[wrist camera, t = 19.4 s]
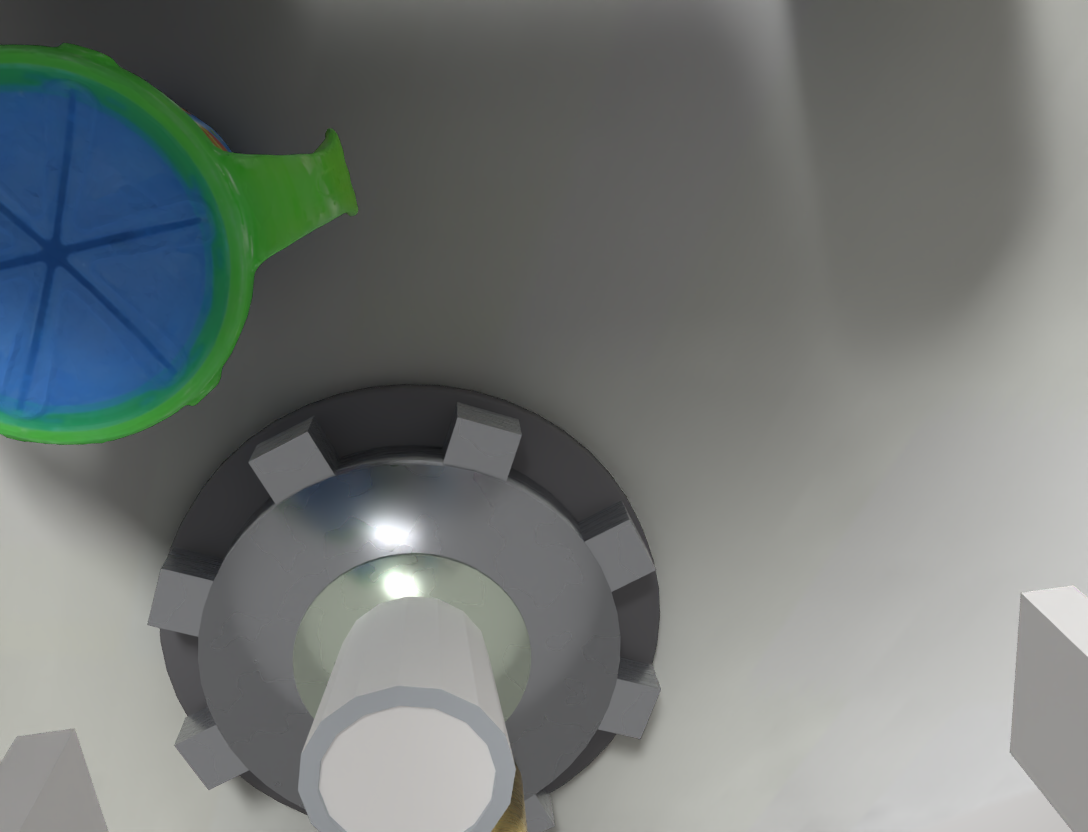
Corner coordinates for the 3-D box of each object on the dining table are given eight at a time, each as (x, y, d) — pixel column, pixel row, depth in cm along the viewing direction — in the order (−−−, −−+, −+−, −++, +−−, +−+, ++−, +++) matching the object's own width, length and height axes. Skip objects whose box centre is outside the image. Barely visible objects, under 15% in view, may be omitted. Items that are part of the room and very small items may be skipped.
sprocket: (326, 902, 45) (298, 1097, 36) (58, 546, 38) (-53, 680, 30) (730, 709, 43) (799, 863, 35) (521, 307, 37) (543, 376, 28)
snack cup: (-31, 381, 37) (-197, 485, 28) (-123, 80, 34) (-349, 80, 24) (393, 326, 38) (374, 410, 29) (344, 27, 35) (305, 8, 25)
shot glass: (471, 756, 40) (476, 889, 34) (301, 714, 39) (271, 845, 32) (529, 608, 38) (546, 718, 32) (352, 559, 37) (331, 663, 31)
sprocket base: (71, 674, 41) (62, 687, 40) (348, 280, 37) (345, 286, 36) (470, 886, 47) (470, 903, 46) (751, 561, 43) (758, 571, 42)
